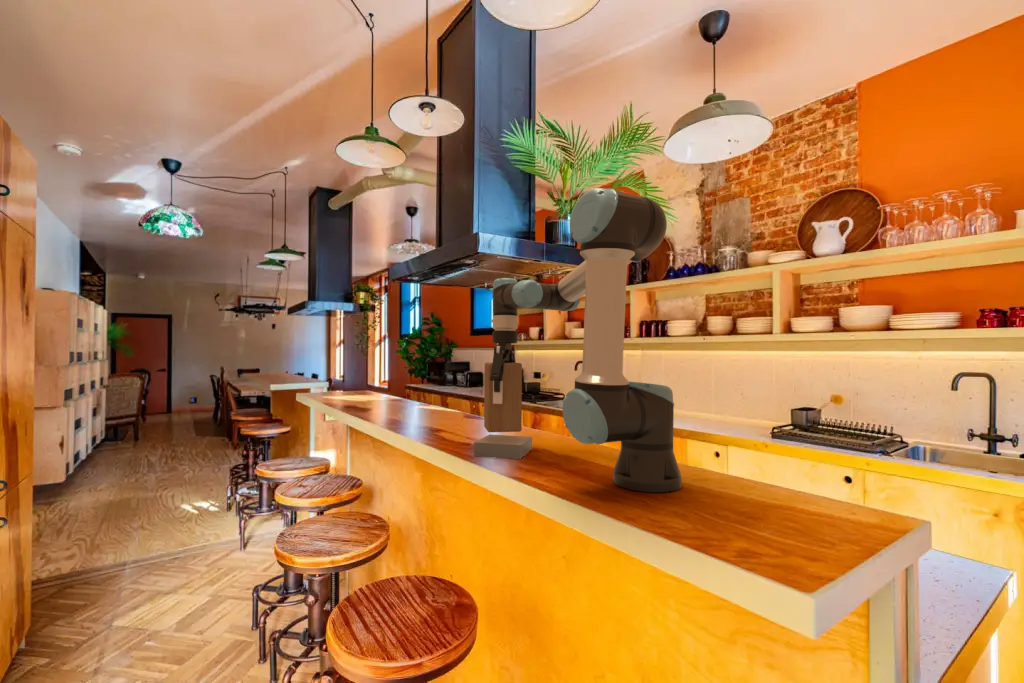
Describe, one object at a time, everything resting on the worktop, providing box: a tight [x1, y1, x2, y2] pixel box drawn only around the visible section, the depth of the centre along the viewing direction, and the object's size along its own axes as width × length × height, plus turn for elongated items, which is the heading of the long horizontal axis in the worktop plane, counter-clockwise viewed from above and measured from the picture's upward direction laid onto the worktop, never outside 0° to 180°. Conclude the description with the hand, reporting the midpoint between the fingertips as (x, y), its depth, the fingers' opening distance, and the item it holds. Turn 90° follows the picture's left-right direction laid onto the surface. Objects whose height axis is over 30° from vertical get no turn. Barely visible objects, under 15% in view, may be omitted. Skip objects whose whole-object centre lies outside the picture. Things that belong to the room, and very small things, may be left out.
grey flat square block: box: [473, 434, 533, 460], centre depth 140 cm, size 14×14×4 cm
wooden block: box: [483, 362, 523, 433], centre depth 140 cm, size 10×10×20 cm
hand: (504, 401), depth 140 cm, fingers closed on wooden block, 12 cm apart
